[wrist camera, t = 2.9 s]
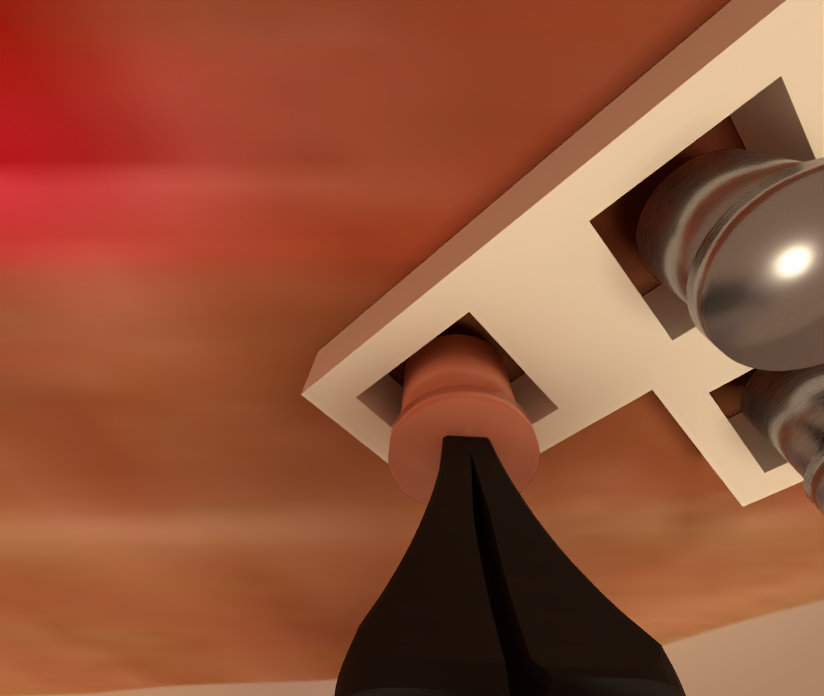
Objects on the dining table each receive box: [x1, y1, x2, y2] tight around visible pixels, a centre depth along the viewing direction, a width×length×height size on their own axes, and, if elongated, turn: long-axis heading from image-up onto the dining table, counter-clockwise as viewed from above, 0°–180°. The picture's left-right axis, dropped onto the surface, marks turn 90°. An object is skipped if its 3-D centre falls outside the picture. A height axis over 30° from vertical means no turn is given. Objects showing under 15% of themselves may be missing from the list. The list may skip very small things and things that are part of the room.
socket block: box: [301, 0, 824, 507], centre depth 17 cm, size 16×18×3 cm
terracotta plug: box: [388, 334, 540, 506], centre depth 15 cm, size 5×5×4 cm
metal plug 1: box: [636, 149, 824, 371], centre depth 11 cm, size 5×5×4 cm
